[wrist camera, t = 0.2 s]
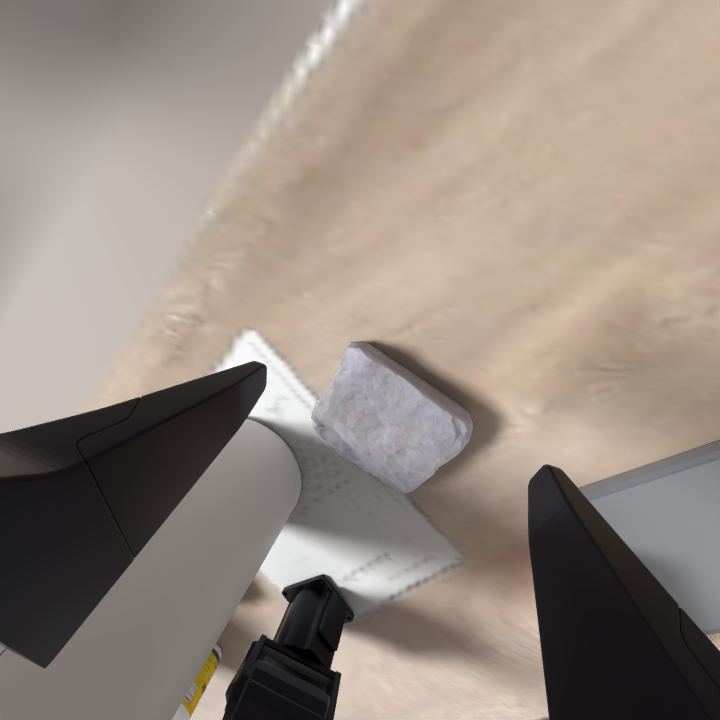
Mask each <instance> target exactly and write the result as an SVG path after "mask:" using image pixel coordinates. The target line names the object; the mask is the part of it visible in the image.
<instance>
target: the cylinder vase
mask: <svg viewBox="0 0 720 720" xmlns="http://www.w3.org/2000/svg"><path fill="white" fill-rule="evenodd" d="M300 493H301V473H300V469H299V466H298V463H297V461H296V458H295V456H294V454H293V453H292V451H291V450H290V448H289V447H288V445H287V444H286V443H285V442H284V441H283V440H282V439H281V438H280V437H279V436H278V435H277V434H276V433H274V432H273V431H272V430H270V429H269V428H267V427H266V426H264V425H262V424H260V423H257V422H255V421H252V420H248V419H246V420H245V421H244V423H243V424H242V426H241V427H240V429H239V430H238V431H237V433H236V434H235V435H234V436H233V438H232V439H231V440H230V441H229V442H228V444H227V445H226V446H225V447H224V449H223V450H222V451H221V452H220V454H219V455H218V456H217V457H216V459H215V460H214V461H213V462H212V464H211V465H210V466H209V467H208V469H207V470H206V471H205V472H204V473H203V475H202V476H201V477H200V478H199V480H198V481H197V482H196V483H195V485H194V486H193V487H192V488H191V490H190V491H189V492H188V493H187V495H186V496H185V497H184V498H183V500H182V501H181V502H180V503H179V504H178V506H177V507H176V508H175V509H174V511H173V512H172V513H171V514H170V516H169V517H168V518H167V519H166V521H165V522H164V523H163V524H162V526H161V527H160V528H159V529H158V531H157V532H156V533H155V534H154V536H153V537H152V538H151V539H150V540H149V542H148V543H147V544H146V545H145V547H144V548H143V549H142V550H141V552H140V553H139V554H138V555H137V557H136V558H134V561H133V562H132V563H131V564H130V566H129V567H128V568H127V569H126V571H125V572H124V573H123V574H122V576H121V577H120V578H119V579H118V580H117V582H116V583H115V584H114V585H113V587H112V588H111V589H110V590H109V592H108V593H107V594H106V595H105V597H104V598H103V599H102V600H101V602H100V603H99V604H98V605H97V607H96V608H95V609H94V610H93V611H92V613H91V614H90V615H89V616H88V618H87V619H86V620H85V621H84V623H83V624H82V625H81V626H80V628H79V629H78V630H77V631H76V633H75V634H74V635H73V636H72V638H71V639H70V640H69V641H68V642H67V644H66V645H65V646H64V647H63V649H62V650H61V651H60V652H59V654H58V655H57V656H56V657H55V658H54V660H53V661H52V662H51V663H50V664H49V665H48V666H47V668H45V669H43V668H42V667H40V666H38V665H36V664H34V663H32V662H30V661H29V660H27V659H25V658H23V657H21V656H19V655H17V654H15V653H14V652H12V651H10V650H8V649H6V650H5V652H4V653H3V654H2V655H1V656H0V720H172V719H173V717H174V715H175V714H176V712H177V710H178V708H179V707H180V705H181V703H182V702H183V700H184V698H185V696H186V695H187V693H188V691H189V689H190V688H191V686H192V684H193V682H194V681H195V679H196V677H197V676H198V674H199V672H200V670H201V669H202V667H203V665H204V663H205V662H206V660H207V658H208V656H209V655H210V653H211V651H212V650H213V648H214V646H215V644H216V643H217V641H218V639H219V637H220V636H221V634H222V632H223V631H224V629H225V627H226V625H227V624H228V622H229V620H230V618H231V617H232V615H233V613H234V611H235V610H236V608H237V606H238V605H239V603H240V601H241V599H242V598H243V596H244V594H245V592H246V591H247V589H248V587H249V585H250V584H251V582H252V580H253V579H254V577H255V575H256V573H257V572H258V570H259V568H260V566H261V565H262V563H263V561H264V560H265V558H266V556H267V554H268V553H269V551H270V549H271V547H272V546H273V544H274V542H275V540H276V539H277V537H278V535H279V534H280V532H281V530H282V528H283V527H284V525H285V523H286V521H287V520H288V518H289V516H290V515H291V513H292V511H293V509H294V508H295V506H296V504H297V502H298V500H299V497H300Z"/></svg>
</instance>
